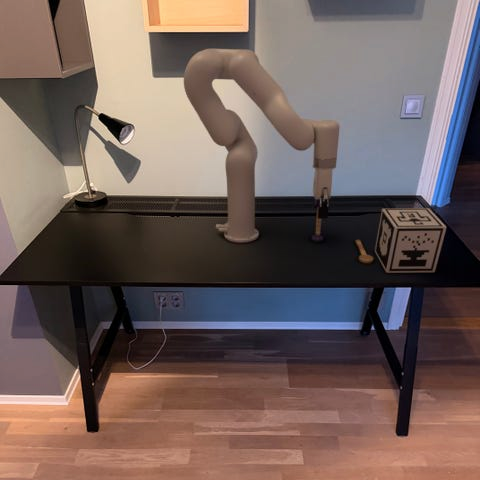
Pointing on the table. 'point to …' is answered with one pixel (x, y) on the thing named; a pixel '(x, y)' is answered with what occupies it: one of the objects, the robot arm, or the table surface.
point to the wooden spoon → (363, 253)
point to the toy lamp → (317, 224)
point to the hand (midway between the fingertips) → (320, 212)
